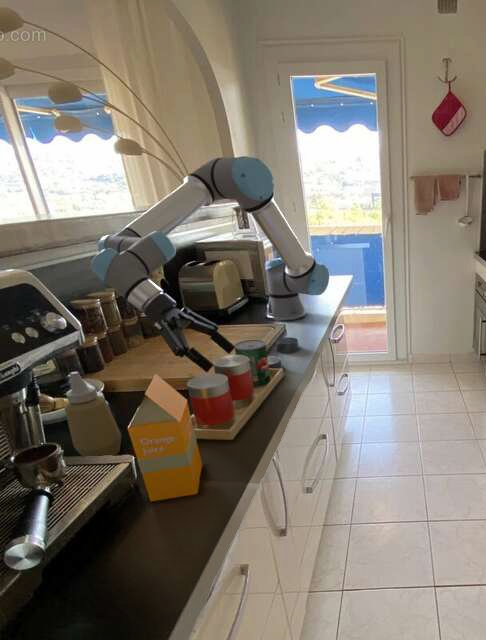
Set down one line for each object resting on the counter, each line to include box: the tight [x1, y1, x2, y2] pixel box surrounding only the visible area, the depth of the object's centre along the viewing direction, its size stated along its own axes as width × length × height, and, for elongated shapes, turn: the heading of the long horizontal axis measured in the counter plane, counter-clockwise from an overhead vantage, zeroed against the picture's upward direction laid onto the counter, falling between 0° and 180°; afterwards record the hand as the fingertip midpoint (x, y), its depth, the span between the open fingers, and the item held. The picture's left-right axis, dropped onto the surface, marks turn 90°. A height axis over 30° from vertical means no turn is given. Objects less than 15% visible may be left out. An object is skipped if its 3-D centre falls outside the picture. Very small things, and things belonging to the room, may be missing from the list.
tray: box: [190, 368, 285, 441], centre depth 110 cm, size 35×12×2 cm, turn 176°
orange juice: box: [127, 373, 203, 502], centre depth 77 cm, size 8×9×20 cm
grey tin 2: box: [275, 336, 300, 354], centre depth 146 cm, size 7×7×3 cm
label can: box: [186, 373, 236, 430], centre depth 97 cm, size 8×8×11 cm
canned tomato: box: [233, 339, 271, 388], centre depth 119 cm, size 8×8×11 cm
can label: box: [212, 354, 255, 409], centre depth 108 cm, size 8×8×11 cm
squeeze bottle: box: [64, 371, 122, 457], centre depth 86 cm, size 8×8×18 cm
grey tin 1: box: [267, 355, 283, 369], centre depth 130 cm, size 7×7×3 cm
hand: (222, 359), depth 119 cm, fingers open, 13 cm apart
